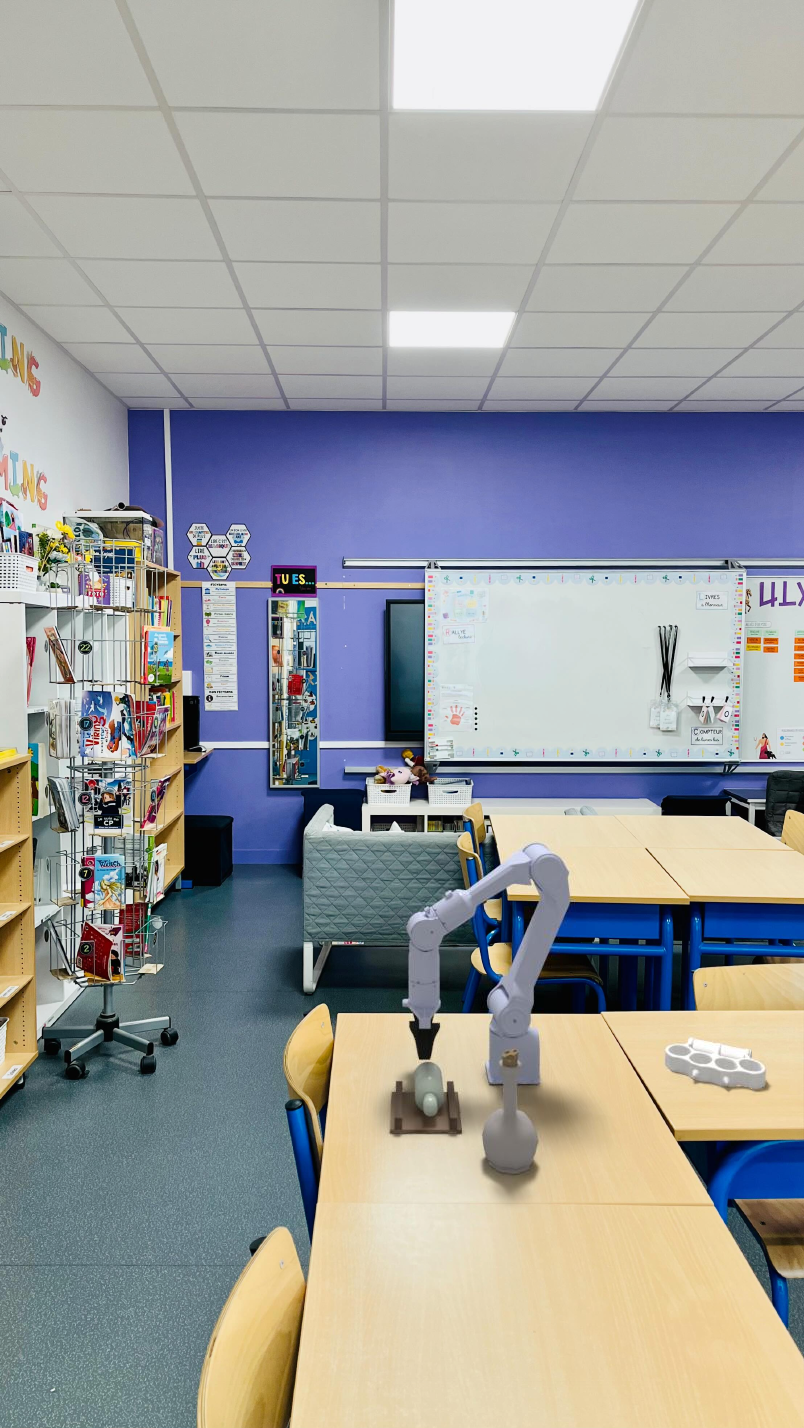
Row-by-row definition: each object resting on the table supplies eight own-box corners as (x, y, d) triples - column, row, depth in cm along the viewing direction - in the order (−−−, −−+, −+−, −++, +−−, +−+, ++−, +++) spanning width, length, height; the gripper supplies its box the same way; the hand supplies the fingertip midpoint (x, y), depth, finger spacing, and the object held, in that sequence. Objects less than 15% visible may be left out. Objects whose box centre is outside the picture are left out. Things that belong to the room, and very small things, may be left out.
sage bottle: (444, 1065, 152) (448, 1099, 140) (437, 1091, 152) (441, 1127, 141) (418, 1059, 152) (419, 1092, 140) (411, 1085, 152) (412, 1120, 141)
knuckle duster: (769, 1065, 162) (762, 1101, 149) (673, 1045, 171) (659, 1078, 158) (769, 1049, 162) (762, 1083, 149) (673, 1029, 170) (659, 1060, 158)
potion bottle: (537, 1181, 126) (537, 1066, 125) (478, 1174, 128) (478, 1060, 127) (539, 1148, 135) (540, 1040, 133) (484, 1141, 136) (484, 1035, 135)
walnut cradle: (457, 1095, 151) (457, 1081, 151) (462, 1133, 139) (462, 1118, 139) (391, 1095, 151) (391, 1081, 151) (390, 1133, 139) (390, 1118, 139)
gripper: (402, 963, 162) (402, 1031, 163) (402, 994, 148) (402, 1068, 149) (439, 963, 162) (439, 1031, 163) (442, 994, 148) (442, 1068, 149)
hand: (424, 1049), depth 156 cm, fingers open, 7 cm apart
